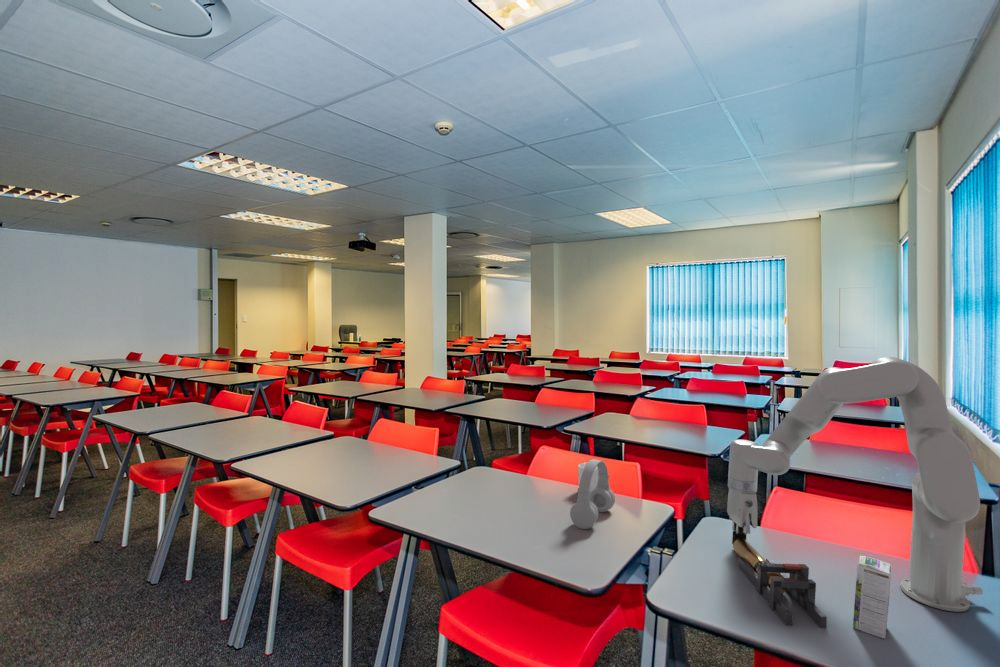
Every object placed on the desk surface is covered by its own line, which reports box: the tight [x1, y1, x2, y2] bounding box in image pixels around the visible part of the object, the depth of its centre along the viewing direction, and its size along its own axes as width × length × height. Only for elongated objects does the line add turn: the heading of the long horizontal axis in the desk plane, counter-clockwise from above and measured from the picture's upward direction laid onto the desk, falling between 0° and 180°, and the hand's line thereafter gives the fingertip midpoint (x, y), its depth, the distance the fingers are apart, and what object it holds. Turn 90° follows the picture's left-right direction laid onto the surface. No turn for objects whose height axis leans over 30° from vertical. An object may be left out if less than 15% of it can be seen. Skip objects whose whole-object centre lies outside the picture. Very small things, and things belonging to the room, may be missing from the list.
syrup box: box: [852, 555, 892, 640], centre depth 106 cm, size 6×6×14 cm
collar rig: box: [737, 556, 828, 629], centre depth 118 cm, size 9×25×9 cm, turn 176°
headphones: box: [569, 458, 616, 530], centre depth 159 cm, size 20×8×19 cm, turn 148°
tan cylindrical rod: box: [732, 538, 787, 595], centre depth 128 cm, size 20×4×4 cm, turn 177°
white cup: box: [577, 462, 599, 494], centre depth 182 cm, size 8×8×10 cm
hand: (738, 545), depth 140 cm, fingers closed
